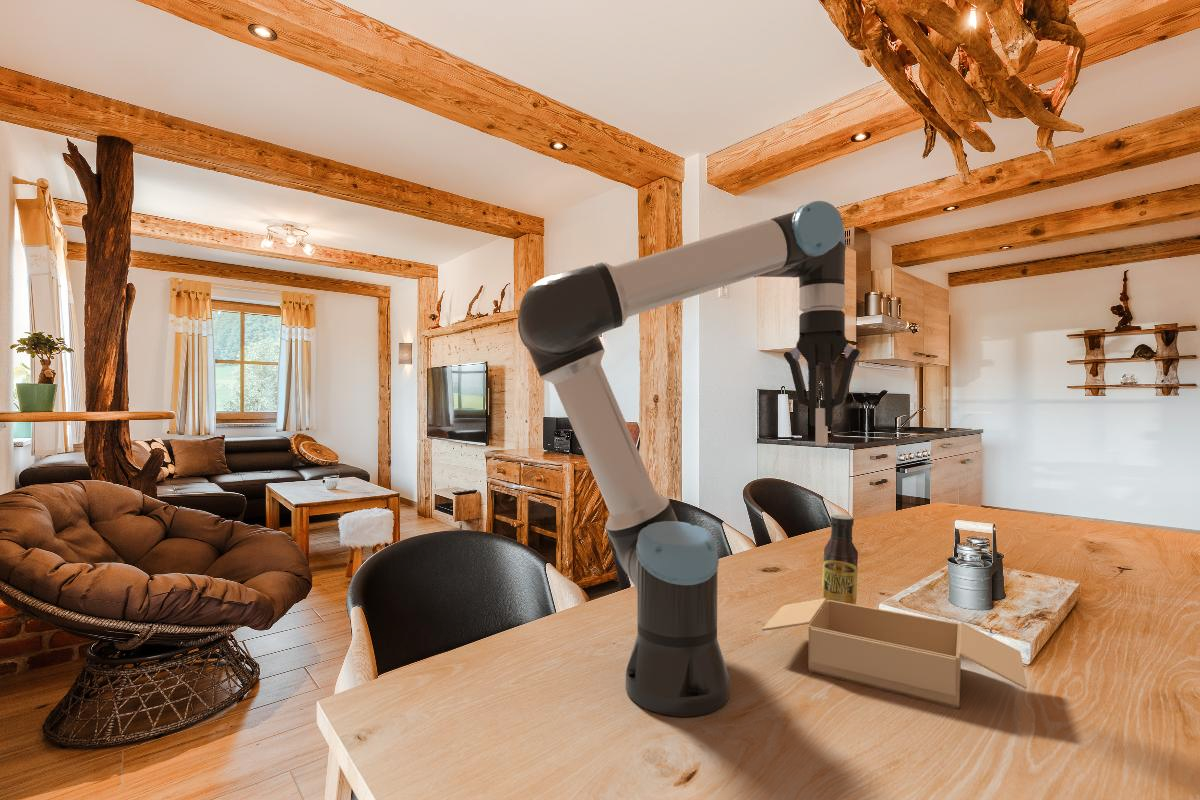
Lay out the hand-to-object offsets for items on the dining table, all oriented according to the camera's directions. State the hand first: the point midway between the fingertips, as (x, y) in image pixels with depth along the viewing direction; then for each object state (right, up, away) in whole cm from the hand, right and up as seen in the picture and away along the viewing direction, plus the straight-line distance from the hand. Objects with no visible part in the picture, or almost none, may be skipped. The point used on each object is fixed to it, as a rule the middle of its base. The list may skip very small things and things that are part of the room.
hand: (821, 444), depth 102 cm
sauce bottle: (+7, -35, +9) cm, 36 cm away
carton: (+5, -35, -12) cm, 37 cm away
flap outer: (+14, -27, -17) cm, 35 cm away
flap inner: (-3, -27, -6) cm, 28 cm away
